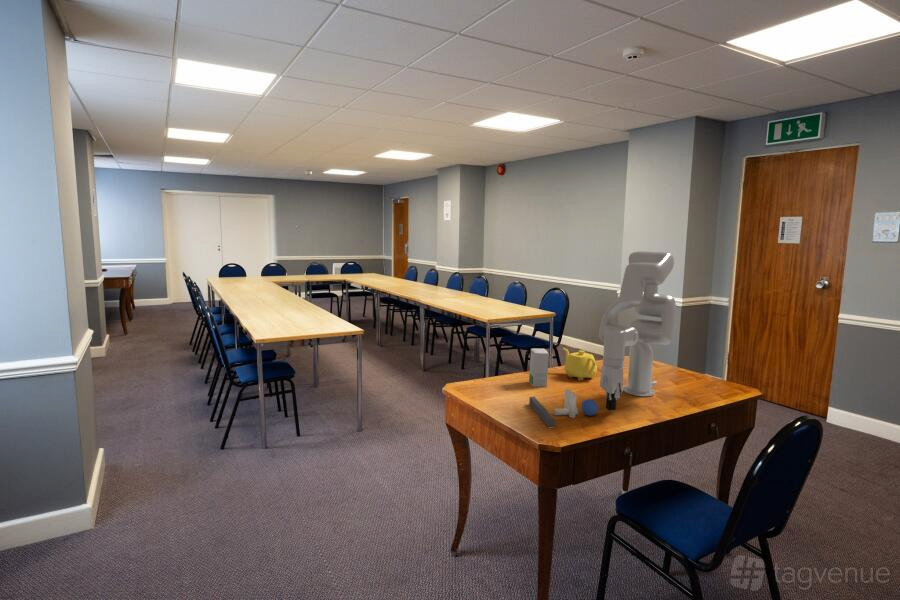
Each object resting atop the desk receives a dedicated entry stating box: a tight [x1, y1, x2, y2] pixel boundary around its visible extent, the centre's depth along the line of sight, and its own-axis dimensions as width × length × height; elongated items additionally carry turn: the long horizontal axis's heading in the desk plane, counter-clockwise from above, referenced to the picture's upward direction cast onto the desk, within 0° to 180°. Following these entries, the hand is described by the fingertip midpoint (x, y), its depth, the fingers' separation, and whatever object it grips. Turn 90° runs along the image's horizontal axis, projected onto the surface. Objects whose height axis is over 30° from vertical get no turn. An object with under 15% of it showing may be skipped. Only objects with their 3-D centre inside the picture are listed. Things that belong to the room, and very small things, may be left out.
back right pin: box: [563, 388, 572, 408], centre depth 185 cm, size 2×2×8 cm
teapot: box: [562, 347, 598, 381], centre depth 232 cm, size 14×20×13 cm
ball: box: [580, 398, 599, 417], centre depth 182 cm, size 6×6×6 cm
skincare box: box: [528, 347, 550, 388], centre depth 219 cm, size 8×7×16 cm
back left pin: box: [568, 392, 577, 419], centre depth 180 cm, size 2×2×8 cm
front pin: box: [553, 407, 579, 416], centre depth 183 cm, size 2×2×8 cm
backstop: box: [528, 396, 556, 428], centre depth 181 cm, size 2×24×3 cm, turn 7°
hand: (610, 409), depth 185 cm, fingers closed
